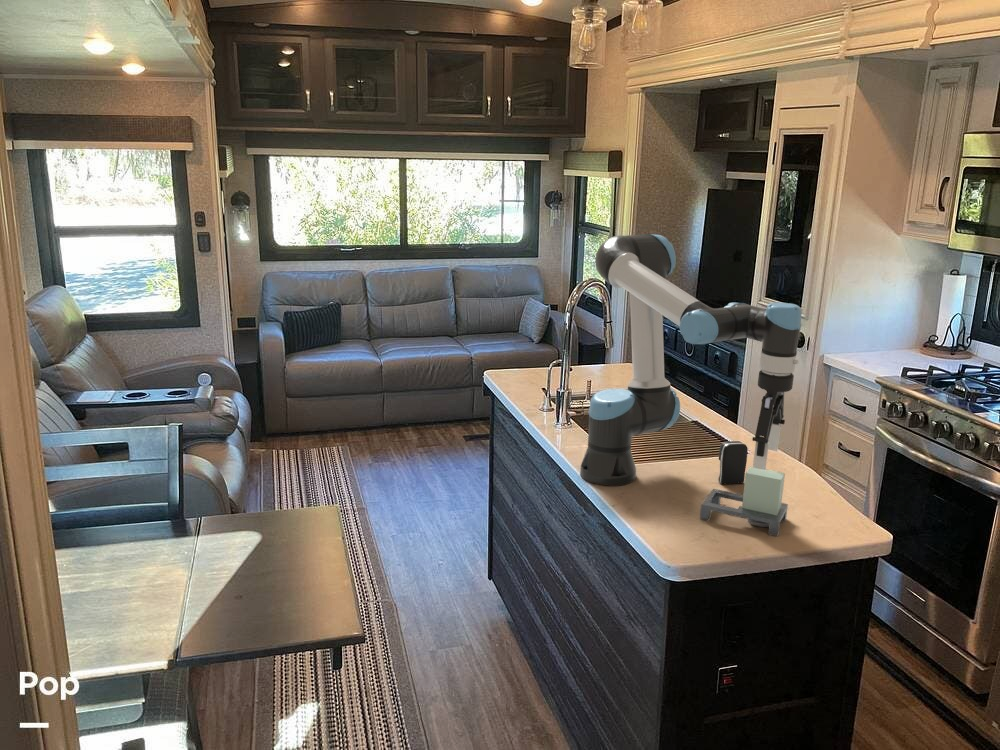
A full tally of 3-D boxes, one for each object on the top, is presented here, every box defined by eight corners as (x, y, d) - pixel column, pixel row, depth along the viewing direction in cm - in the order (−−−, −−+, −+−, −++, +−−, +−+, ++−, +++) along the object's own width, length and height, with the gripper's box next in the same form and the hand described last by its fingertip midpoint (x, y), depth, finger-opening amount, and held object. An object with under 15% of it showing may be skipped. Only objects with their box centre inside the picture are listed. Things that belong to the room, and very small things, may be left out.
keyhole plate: (699, 518, 189) (701, 504, 188) (712, 502, 199) (713, 488, 198) (777, 536, 181) (779, 521, 180) (786, 518, 190) (787, 504, 189)
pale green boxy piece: (740, 522, 187) (745, 473, 184) (745, 513, 192) (750, 465, 189) (775, 530, 184) (780, 480, 180) (779, 521, 188) (785, 472, 185)
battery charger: (738, 478, 214) (742, 439, 211) (745, 484, 211) (749, 443, 208) (714, 480, 213) (718, 440, 210) (720, 485, 210) (724, 445, 207)
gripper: (783, 387, 166) (771, 480, 172) (803, 362, 187) (792, 445, 193) (747, 381, 169) (736, 472, 175) (770, 357, 190) (760, 439, 196)
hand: (765, 458), depth 184 cm, fingers open, 13 cm apart
